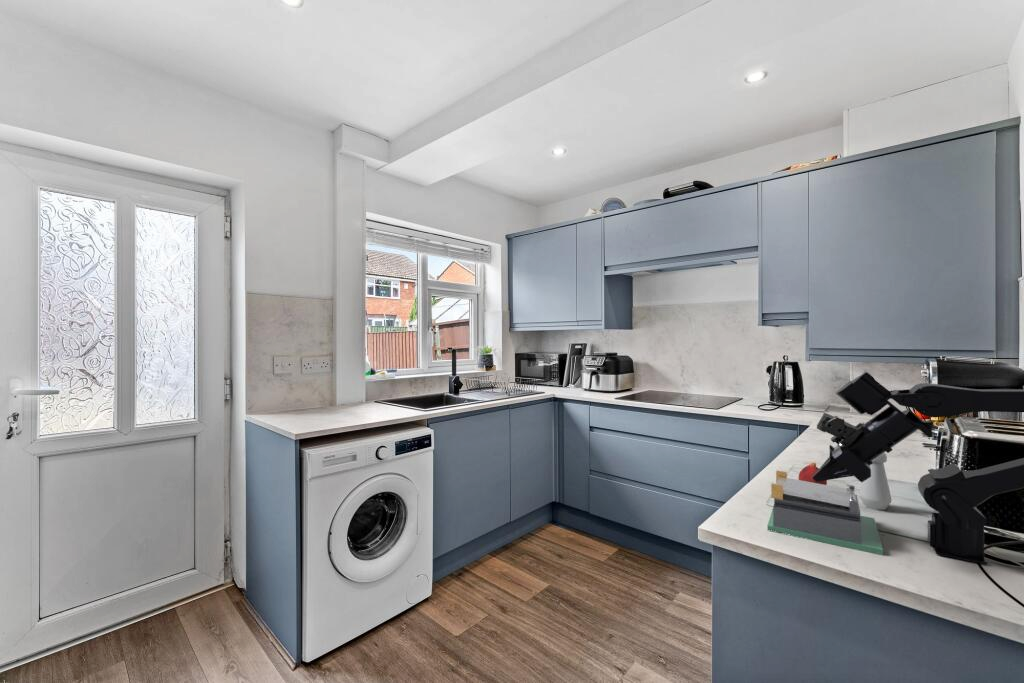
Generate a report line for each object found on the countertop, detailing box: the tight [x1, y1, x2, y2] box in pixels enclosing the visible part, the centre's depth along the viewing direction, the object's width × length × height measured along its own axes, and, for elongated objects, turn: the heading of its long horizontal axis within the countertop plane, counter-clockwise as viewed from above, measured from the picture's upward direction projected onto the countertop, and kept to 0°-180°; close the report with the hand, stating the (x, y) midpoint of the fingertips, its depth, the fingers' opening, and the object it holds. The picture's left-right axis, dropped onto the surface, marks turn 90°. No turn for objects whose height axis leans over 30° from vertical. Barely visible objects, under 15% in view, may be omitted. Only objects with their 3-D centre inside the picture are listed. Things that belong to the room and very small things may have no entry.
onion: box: [797, 462, 828, 485], centre depth 110 cm, size 6×6×8 cm
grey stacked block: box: [770, 469, 861, 544], centre depth 92 cm, size 14×16×8 cm
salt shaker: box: [858, 452, 893, 511], centre depth 101 cm, size 6×6×13 cm
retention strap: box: [775, 477, 856, 507], centre depth 91 cm, size 14×10×1 cm
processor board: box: [767, 508, 884, 556], centre depth 91 cm, size 18×17×1 cm
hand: (814, 479), depth 92 cm, fingers closed
